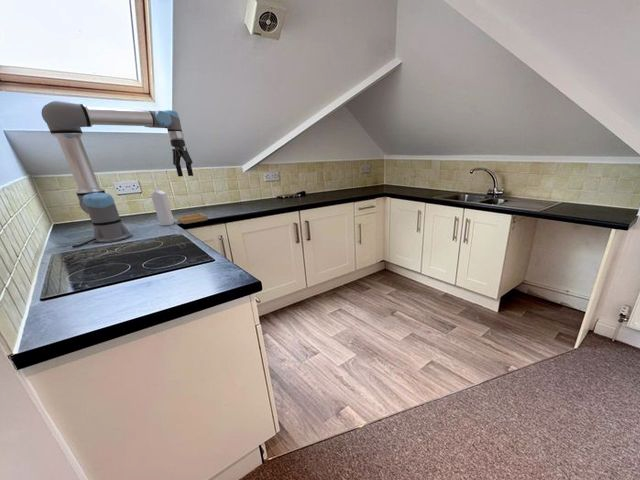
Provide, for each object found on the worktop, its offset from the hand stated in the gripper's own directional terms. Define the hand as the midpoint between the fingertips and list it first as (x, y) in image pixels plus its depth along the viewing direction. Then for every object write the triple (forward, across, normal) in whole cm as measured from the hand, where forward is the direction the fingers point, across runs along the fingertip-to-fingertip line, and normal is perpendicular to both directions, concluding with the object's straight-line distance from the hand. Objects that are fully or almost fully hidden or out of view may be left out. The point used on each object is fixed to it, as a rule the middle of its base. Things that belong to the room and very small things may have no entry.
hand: (185, 176), depth 188 cm
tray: (+28, -1, +3) cm, 28 cm away
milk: (+28, +3, +16) cm, 33 cm away
